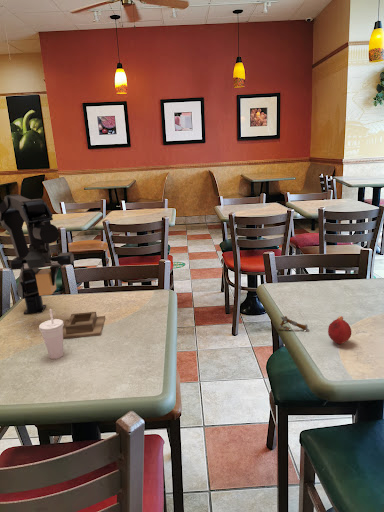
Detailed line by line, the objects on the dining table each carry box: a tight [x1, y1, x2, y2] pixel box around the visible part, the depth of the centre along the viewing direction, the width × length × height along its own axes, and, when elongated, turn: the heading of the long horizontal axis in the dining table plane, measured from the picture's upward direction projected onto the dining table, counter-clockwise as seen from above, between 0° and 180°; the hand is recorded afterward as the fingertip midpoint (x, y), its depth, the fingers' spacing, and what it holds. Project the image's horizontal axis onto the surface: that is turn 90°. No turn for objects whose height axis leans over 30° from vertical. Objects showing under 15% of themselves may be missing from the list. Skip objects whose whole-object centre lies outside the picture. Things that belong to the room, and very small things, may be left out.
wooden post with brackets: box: [278, 315, 309, 331], centre depth 115 cm, size 2×8×4 cm, turn 80°
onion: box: [327, 315, 352, 345], centre depth 105 cm, size 6×6×8 cm
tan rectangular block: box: [36, 268, 57, 297], centre depth 128 cm, size 6×4×7 cm, turn 5°
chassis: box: [63, 311, 106, 340], centre depth 126 cm, size 13×13×3 cm
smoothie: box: [38, 308, 64, 360], centre depth 108 cm, size 6×6×14 cm
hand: (47, 286), depth 128 cm, fingers closed on tan rectangular block, 4 cm apart
